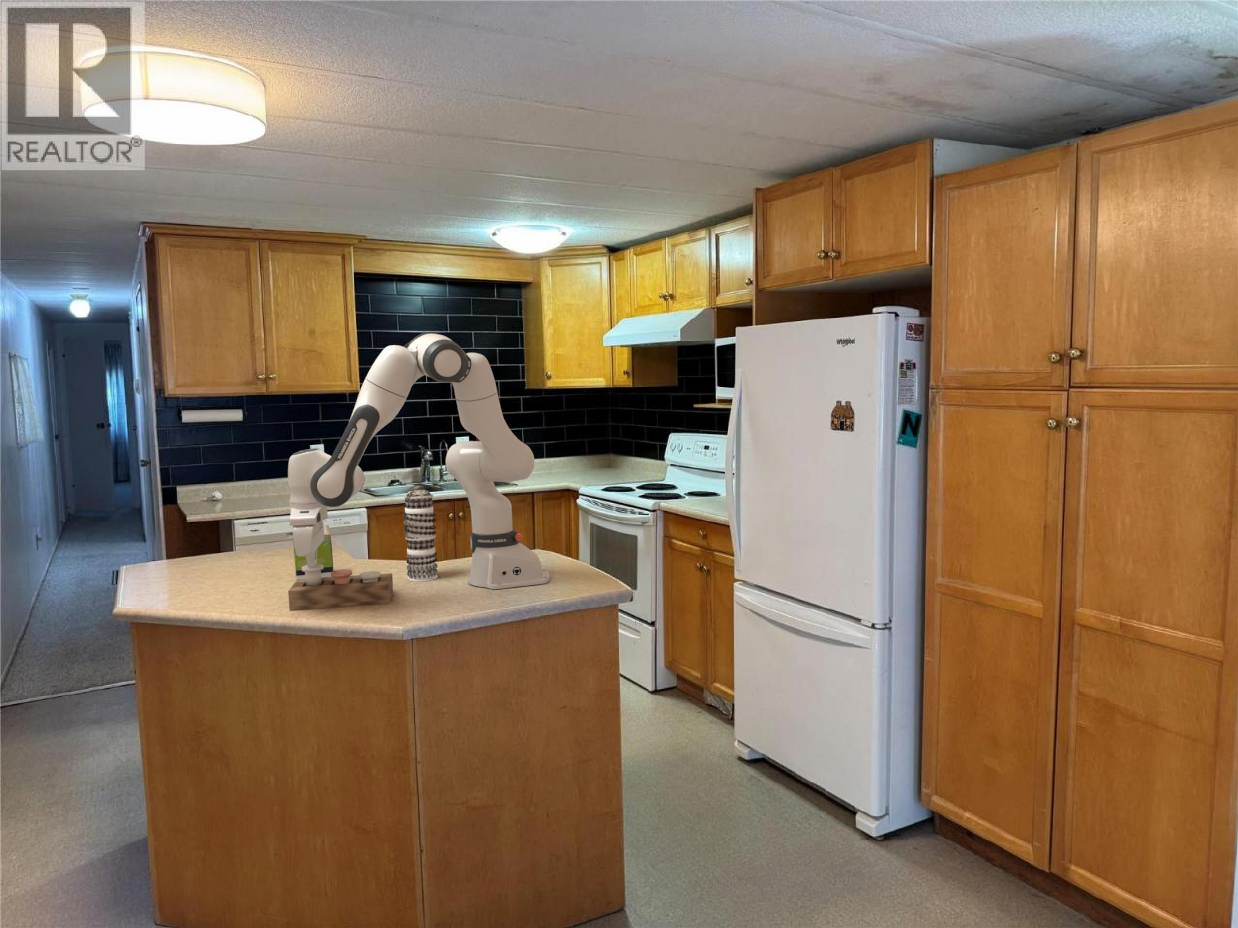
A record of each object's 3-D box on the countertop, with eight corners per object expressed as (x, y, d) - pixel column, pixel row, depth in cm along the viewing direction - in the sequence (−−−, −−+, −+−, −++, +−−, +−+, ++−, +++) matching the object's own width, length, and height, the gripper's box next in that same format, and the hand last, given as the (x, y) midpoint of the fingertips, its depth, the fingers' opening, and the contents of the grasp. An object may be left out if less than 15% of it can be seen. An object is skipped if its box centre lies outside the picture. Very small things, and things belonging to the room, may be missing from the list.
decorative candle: (402, 582, 233) (397, 493, 230) (410, 574, 242) (405, 489, 239) (435, 581, 233) (431, 493, 230) (441, 573, 242) (437, 488, 239)
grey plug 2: (382, 590, 220) (381, 570, 219) (380, 595, 215) (379, 575, 214) (361, 591, 219) (360, 572, 218) (359, 597, 214) (358, 576, 213)
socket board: (393, 591, 224) (392, 573, 223) (389, 603, 212) (388, 584, 211) (299, 597, 219) (297, 579, 219) (289, 610, 208) (288, 590, 207)
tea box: (296, 576, 242) (293, 526, 241) (333, 573, 246) (329, 523, 244) (296, 589, 228) (292, 535, 227) (334, 585, 232) (331, 532, 230)
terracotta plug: (354, 588, 218) (353, 568, 218) (351, 593, 213) (350, 573, 213) (333, 589, 217) (332, 569, 217) (330, 595, 212) (329, 574, 212)
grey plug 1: (326, 583, 217) (324, 563, 216) (322, 588, 212) (321, 567, 211) (305, 584, 216) (303, 564, 215) (301, 589, 211) (299, 569, 210)
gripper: (303, 507, 221) (306, 558, 223) (287, 520, 201) (291, 576, 203) (328, 505, 222) (331, 556, 224) (315, 518, 202) (318, 574, 204)
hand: (312, 566), depth 213 cm, fingers closed, pressing on grey plug 1
